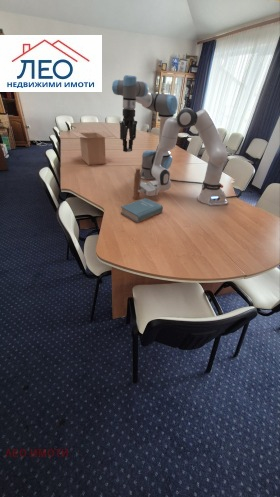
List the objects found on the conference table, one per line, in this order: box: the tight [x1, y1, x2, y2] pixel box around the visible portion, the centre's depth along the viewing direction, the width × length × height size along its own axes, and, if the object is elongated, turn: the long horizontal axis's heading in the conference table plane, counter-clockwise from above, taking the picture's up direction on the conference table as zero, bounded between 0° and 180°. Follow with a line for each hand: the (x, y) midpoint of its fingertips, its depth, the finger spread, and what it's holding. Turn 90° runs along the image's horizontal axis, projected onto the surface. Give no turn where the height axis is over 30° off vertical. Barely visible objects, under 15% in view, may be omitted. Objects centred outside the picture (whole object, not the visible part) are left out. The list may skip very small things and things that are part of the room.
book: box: [120, 197, 164, 223], centre depth 146 cm, size 23×16×5 cm
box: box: [70, 129, 114, 166], centre depth 229 cm, size 44×36×27 cm
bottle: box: [132, 167, 142, 200], centre depth 160 cm, size 5×5×22 cm
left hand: (127, 151), depth 143 cm, fingers closed on cap, 4 cm apart
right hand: (135, 189), depth 162 cm, fingers closed on bottle, 5 cm apart
